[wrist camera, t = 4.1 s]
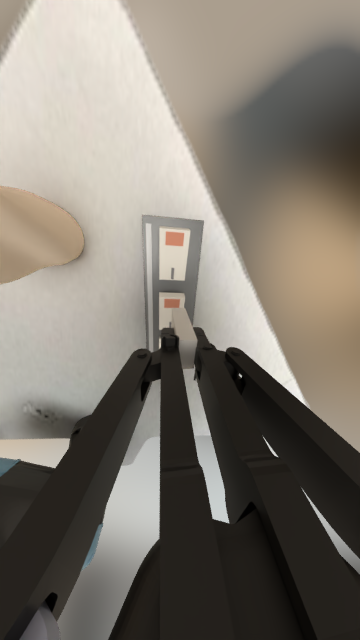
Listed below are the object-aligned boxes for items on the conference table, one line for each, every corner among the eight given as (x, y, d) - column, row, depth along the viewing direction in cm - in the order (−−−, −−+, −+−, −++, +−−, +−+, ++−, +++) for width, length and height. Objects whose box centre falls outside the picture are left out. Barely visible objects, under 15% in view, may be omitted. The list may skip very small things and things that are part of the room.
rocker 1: (159, 275, 25) (159, 279, 23) (159, 226, 20) (159, 228, 19) (183, 276, 25) (184, 281, 24) (189, 228, 21) (190, 231, 19)
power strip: (149, 383, 40) (148, 395, 36) (144, 219, 24) (141, 214, 21) (183, 381, 41) (185, 393, 38) (198, 224, 25) (204, 220, 22)
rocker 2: (159, 324, 28) (159, 330, 27) (159, 292, 24) (159, 297, 23) (180, 324, 29) (180, 330, 28) (184, 293, 24) (185, 298, 23)
